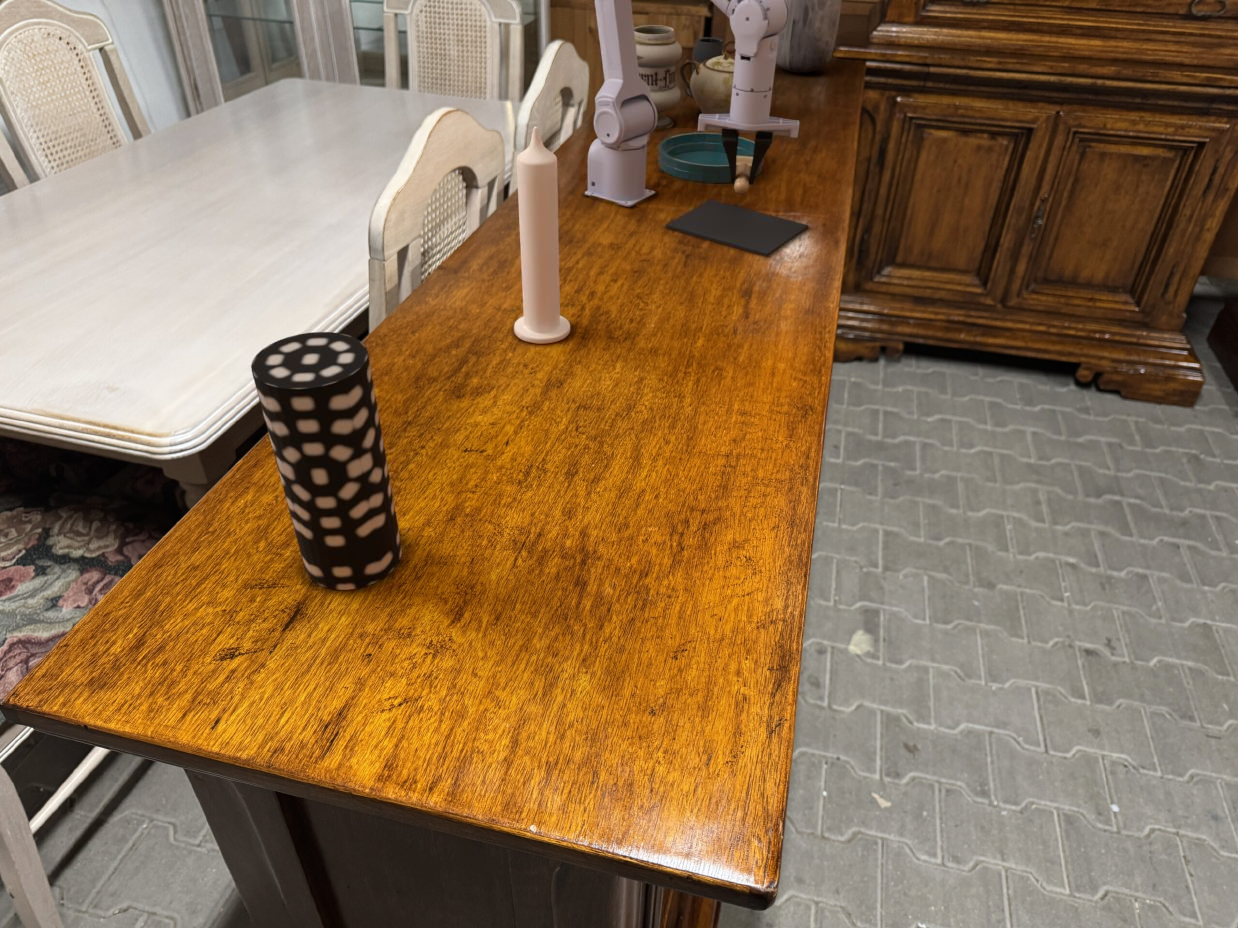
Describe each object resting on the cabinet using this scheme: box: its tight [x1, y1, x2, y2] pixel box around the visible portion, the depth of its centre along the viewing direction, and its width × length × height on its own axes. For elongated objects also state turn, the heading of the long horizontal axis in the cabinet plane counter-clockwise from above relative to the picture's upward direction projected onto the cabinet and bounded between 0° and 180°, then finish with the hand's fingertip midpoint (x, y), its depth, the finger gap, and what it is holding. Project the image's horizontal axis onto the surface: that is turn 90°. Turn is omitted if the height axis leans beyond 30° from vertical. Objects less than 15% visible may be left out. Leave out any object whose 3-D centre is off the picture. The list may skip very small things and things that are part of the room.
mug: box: [686, 36, 724, 96], centre depth 201 cm, size 12×9×11 cm
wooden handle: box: [733, 156, 753, 195], centre depth 136 cm, size 14×4×2 cm, turn 171°
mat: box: [665, 199, 809, 258], centre depth 139 cm, size 18×14×1 cm
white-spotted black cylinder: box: [250, 331, 403, 591], centre depth 71 cm, size 8×8×20 cm
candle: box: [513, 126, 571, 345], centre depth 103 cm, size 7×7×25 cm
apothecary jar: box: [625, 24, 683, 129], centre depth 177 cm, size 12×12×18 cm
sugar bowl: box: [679, 39, 736, 114], centre depth 184 cm, size 20×15×15 cm
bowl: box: [657, 132, 766, 184], centre depth 160 cm, size 19×19×4 cm
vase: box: [776, 0, 843, 74], centre depth 213 cm, size 16×16×30 cm
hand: (742, 181), depth 133 cm, fingers closed on wooden handle, 2 cm apart
